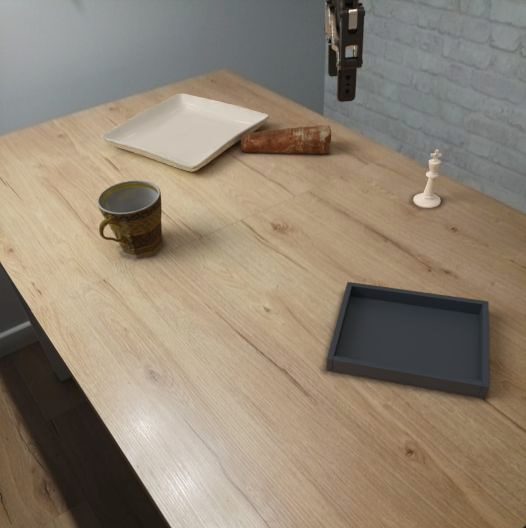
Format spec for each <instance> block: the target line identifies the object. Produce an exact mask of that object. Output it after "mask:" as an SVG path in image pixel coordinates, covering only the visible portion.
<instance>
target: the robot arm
mask: <svg viewBox="0 0 526 528" xmlns="http://www.w3.org/2000/svg"><path fill="white" fill-rule="evenodd" d="M365 16H366V10H365V6H364V5H363V2H362V1H361V2H360V0H324V26H323V27H324V28H323V31H324V33H325V35H326V36H325V41H326V44H327V74H328V76H329V77H336V99H337V101H338V102H339V103H343V102H344V103H345V102H346V103H347V102H352V101H354V100H355V99H356V92H357V76H358V75H357V73H358V69H362V67H363V64H364V59H363V52H364V51H363V50H364V34H365V33H364V32H365V31H364V30H365ZM350 49H351V50H352V56H346V50H350Z"/></svg>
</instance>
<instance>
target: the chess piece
mask: <svg viewBox="0 0 526 528" xmlns="http://www.w3.org/2000/svg"><path fill="white" fill-rule="evenodd" d="M442 156H443V153H441V152H440V151H439V149H435V151H434V152H432V153H431V152H430V159H429V160H428V167H429V168H428V169H429V170H428V171H426V173H425V176H426V177H427V178H428V179H427V182H426V185H425V188H424V191H423V192H420V193H417V194H416V195H414V197H413V200H412V201H413V203H414V204H415V205H416V206H417V207H420V208H422V209H434V208H436V207H439V206H440V205H441V201H442V200H441V198H440V196H438V195H437V194H435V193H434V187H435V179H436V178H438V177H439V176H440V175H439V172H438V169H439V167H440V166H441V163H442V161H441V160H440V158H441V157H442Z"/></svg>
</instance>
